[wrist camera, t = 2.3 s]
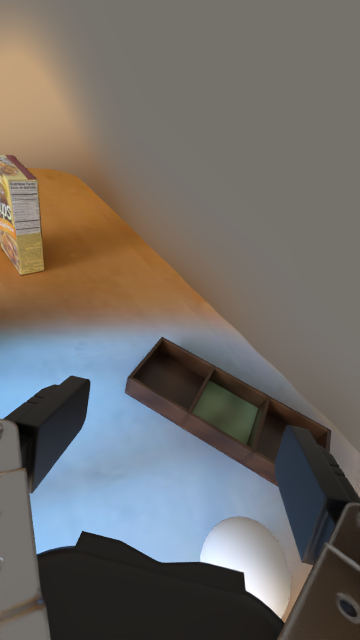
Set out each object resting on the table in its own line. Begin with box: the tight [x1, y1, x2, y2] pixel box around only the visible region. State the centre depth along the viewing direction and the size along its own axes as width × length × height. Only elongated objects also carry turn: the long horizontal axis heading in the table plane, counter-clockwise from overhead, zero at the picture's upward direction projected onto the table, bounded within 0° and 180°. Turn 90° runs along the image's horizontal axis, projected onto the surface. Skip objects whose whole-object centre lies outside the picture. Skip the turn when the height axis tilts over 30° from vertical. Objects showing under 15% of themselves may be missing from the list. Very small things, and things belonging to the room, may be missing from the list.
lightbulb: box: [200, 517, 291, 618], centre depth 22 cm, size 6×6×11 cm
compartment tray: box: [125, 337, 331, 486], centre depth 36 cm, size 25×8×3 cm, turn 63°
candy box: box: [0, 155, 44, 275], centre depth 45 cm, size 9×4×15 cm, turn 41°
